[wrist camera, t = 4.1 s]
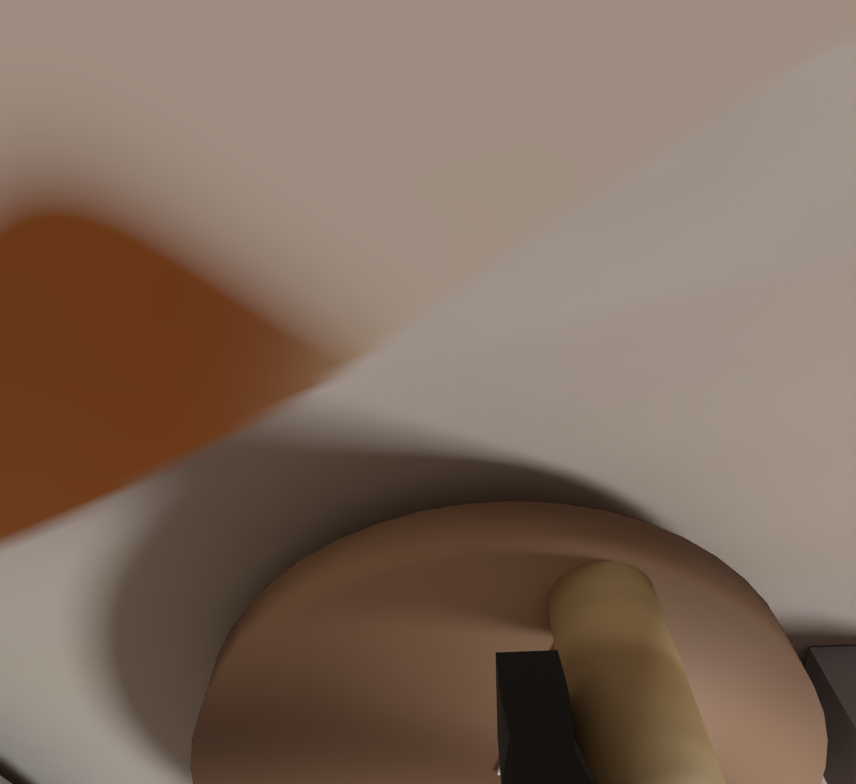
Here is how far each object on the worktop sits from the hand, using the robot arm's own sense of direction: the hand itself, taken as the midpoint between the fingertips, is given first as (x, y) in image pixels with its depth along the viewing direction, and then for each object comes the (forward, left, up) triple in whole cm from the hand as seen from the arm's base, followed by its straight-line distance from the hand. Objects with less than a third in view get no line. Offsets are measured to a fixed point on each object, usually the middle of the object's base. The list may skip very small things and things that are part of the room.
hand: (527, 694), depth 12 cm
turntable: (-6, 0, -4) cm, 7 cm away
